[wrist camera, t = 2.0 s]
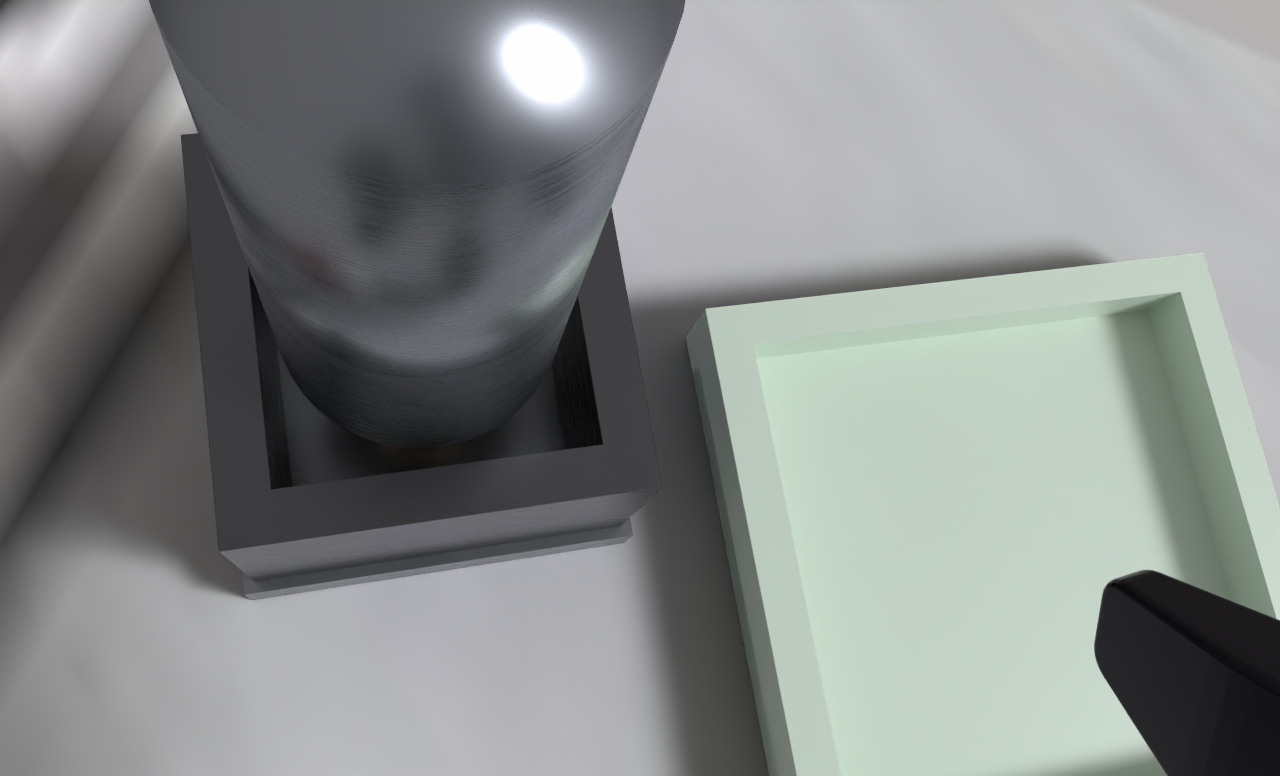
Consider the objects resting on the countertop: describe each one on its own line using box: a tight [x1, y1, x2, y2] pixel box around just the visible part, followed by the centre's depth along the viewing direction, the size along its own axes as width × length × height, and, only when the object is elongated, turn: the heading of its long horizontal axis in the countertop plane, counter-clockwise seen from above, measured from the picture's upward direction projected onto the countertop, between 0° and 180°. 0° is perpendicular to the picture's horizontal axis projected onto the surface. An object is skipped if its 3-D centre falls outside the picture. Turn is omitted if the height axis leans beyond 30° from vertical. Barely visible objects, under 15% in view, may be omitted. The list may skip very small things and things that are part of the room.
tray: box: [686, 252, 1280, 776], centre depth 24 cm, size 11×11×2 cm
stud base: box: [242, 345, 633, 600], centre depth 22 cm, size 7×7×4 cm
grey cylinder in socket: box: [149, 0, 685, 582], centre depth 16 cm, size 7×7×14 cm
